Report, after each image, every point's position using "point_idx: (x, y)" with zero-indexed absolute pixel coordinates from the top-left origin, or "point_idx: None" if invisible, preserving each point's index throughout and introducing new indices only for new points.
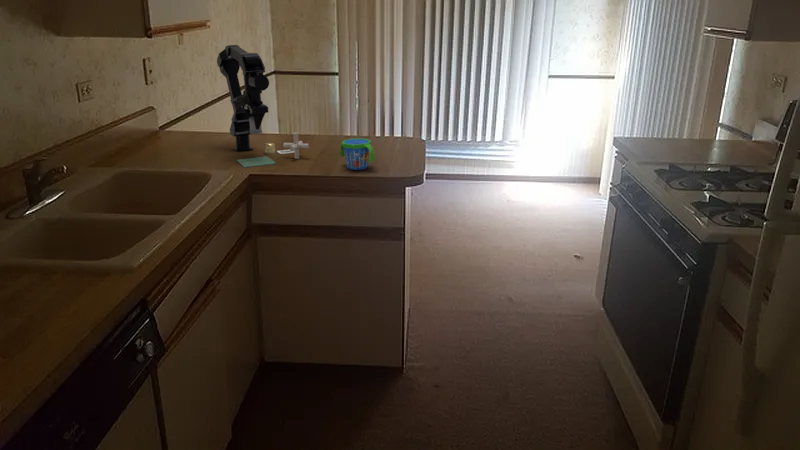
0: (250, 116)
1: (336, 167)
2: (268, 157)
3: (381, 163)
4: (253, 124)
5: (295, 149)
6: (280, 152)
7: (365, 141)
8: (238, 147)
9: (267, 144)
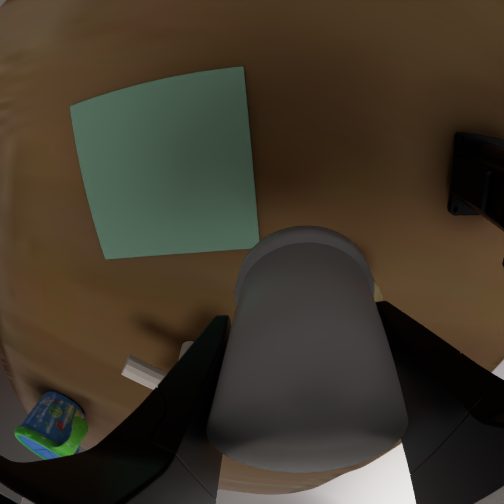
0: (447, 396)
1: (67, 383)
2: (227, 249)
3: None
4: (233, 339)
5: None
6: None
7: None
8: (478, 147)
9: None
